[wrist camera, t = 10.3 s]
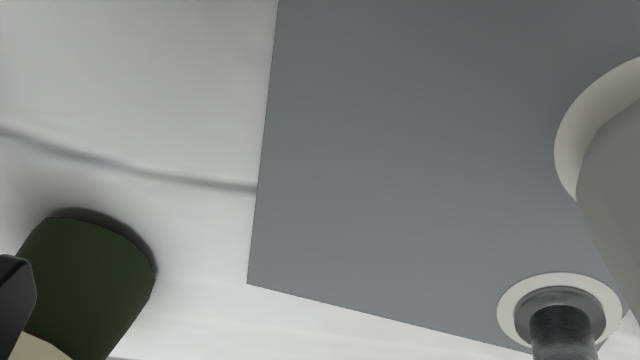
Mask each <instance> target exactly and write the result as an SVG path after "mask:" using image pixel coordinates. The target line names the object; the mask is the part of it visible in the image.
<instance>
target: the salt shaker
mask: <svg viewBox="0 0 640 360" xmlns="http://www.w3.org/2000/svg"><path fill="white" fill-rule="evenodd" d="M575 197H576V200H577V204H578V207H579V210H580V214H581V217H582V220H583V223H584V227H585V228H586V230H587V232H588V234H589V236H590V237H591V239H592V241H593V243H594V245H595V246H596V248H597V250H598V252H599V254H600V255H601V257H602V259H603V261H604V263H605V264H606V266H607V268H608V270H609V271H610V273H611V275H612V277H613V279H614V280H615V282H616V284H617V286H618V288H619V289H620V291H621V293H622V295H623V297H624V298H625V300H626V302H627V304H628V306H629V307H630V309H631V311H632V313H633V314H634V316H635V318H636V320H637V322H638V323H639V325H640V99H638V100H637V101H635V102H634V103H633V104H631V105H630V106H628V107H627V108H626V109H624V110H623V111H621V112H620V113H619V114H617V115H616V116H614V117H613V118H612V119H610V120H609V121H607V122H606V123H605V124H603V125H602V126H600V127H599V128H598V130H597V132H596V134H595V135H594V137H593V139H592V141H591V143H590V145H589V146H588V148H587V150H586V152H585V154H584V158H583V161H582V165H581V169H580V173H579V177H578V180H577V184H576V195H575Z"/></svg>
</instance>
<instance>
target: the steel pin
mask: <svg viewBox="0 0 640 360" xmlns="http://www.w3.org/2000/svg"><path fill="white" fill-rule="evenodd" d="M513 316H514V326H515V330H516V332H517V334H518V335H519V336H520V338H521V339H523V340H524V341H525V342H527V343H528V344H530V345H532V353H533V360H599V359H598V355H597V350H596V345H595V341H596V340H597V339H598V338H600V336H601V335H602V334H603V332H604V330H605V328H606V318H605V314H604V310H603V306H602V304H601V303H600V301H599V300H598V299H597V298H596V297H595V296H594V295H592V294H591V293H589V292H587V291H585V290H583V289H580V288H576V287H572V286H564V285H556V286H547V287H542V288H539V289H536V290H533V291H531V292H529V293H528V294H526V295H525V296H523V297H522V298H521V299H520V300H519V301H518V302H517V304H516V306H515V308H514V313H513Z"/></svg>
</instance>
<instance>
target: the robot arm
mask: <svg viewBox="0 0 640 360" xmlns="http://www.w3.org/2000/svg"><path fill="white" fill-rule="evenodd" d="M36 299H37V291H36V286H35V281H34V277H33V272H32V268H31V264H30V263H29V261H28V260H26V259H23V258H19V257H15V256H11V255H6V254H3V255H0V360H8V358H9V356H10V354H11V352H12V351H13V349H14V347H15V345H16V343H17V341H18V339H19V337H20V335H21V333H22V331H23V329H24V327H25V325H26V323H27V321H28V319H29V317H30V315H31V313H32V311H33V309H34V306H35V303H36Z"/></svg>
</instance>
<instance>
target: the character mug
mask: <svg viewBox="0 0 640 360" xmlns="http://www.w3.org/2000/svg"><path fill="white" fill-rule="evenodd" d="M15 257H19V258H23V259H26V260H28V261H29V263H30V264H31V268H32V272H33V277H34V281H35V286H36V291H37V299H36V303H35V306H34V309H33V311H32V313H31V315H30V317H29V319H28V321H27V323H26V325H25V327H24V329H23V331H22V333H21V335H20V337H19V339H18V341H17V343H16V345H15V347H14V349H13V351H12V352H11V354H10V356H9V358H8V360H105V359H106V358H107V357H108V355H109V354H110V353H111V351H112V350H113V349H114V347H115V346H116V345H117V343H118V342H119V341H120V339H121V338H122V337H123V336H124V334H125V333H126V332H127V330H128V329H129V328H130V326H131V325H132V323H133V322H134V321H135V319H136V318H137V316H138V315H139V313H140V312H141V310H142V309H143V307H144V306H145V304H146V303H147V301H148V300H149V298H150V295H151V292H152V289H153V286H154V283H155V278H154V275H153V272H152V269H151V266H150V263H149V260H148V259H147V258H146V257H145V256H144V255H143V254H142V253H141V252H140V251H139V250H138V249H137V248H136V247H135V246H134V245H133V244H132V243H130V242H129V241H128V240H127V239H125V238H123V237H121V236H119V235H117V234H115V233H113V232H111V231H109V230H107V229H105V228H103V227H101V226H99V225H95V224H91V223H87V222H82V221H78V220H74V219H70V218H46V219H45V220H44V221H42V222H41V223H40V224H39V225H38V226H37V227H36V228H35V229H33V230H32V232H31V233H30V235H29V236H28V238H27V239H26V241H25V242H24V243H23V245H22V246H21V248H20V249H19V251H18V252H17V254H16V255H15Z"/></svg>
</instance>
